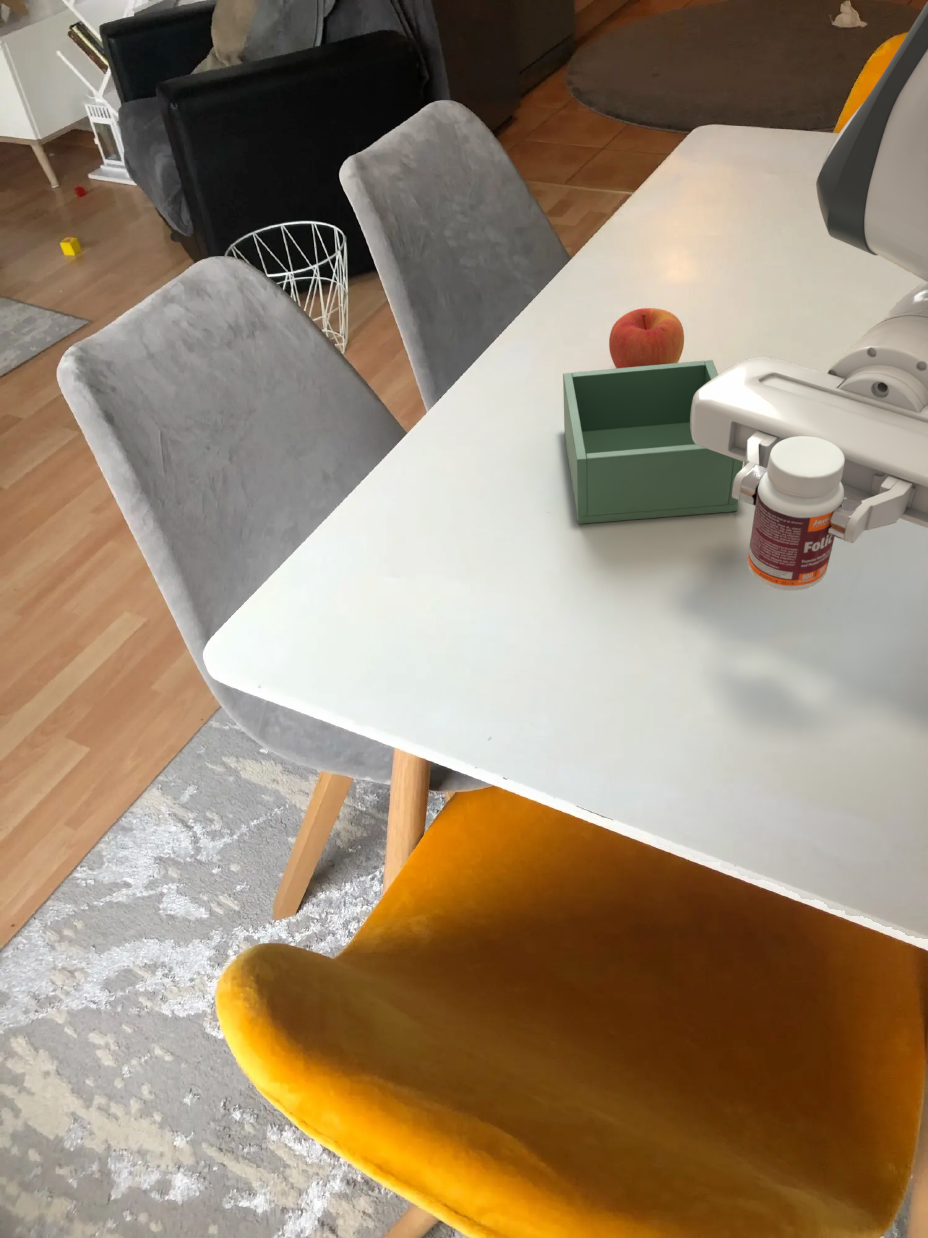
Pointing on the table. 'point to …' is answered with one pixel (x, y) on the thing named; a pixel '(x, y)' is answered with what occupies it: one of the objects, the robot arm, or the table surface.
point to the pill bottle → (796, 513)
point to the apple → (646, 338)
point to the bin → (642, 445)
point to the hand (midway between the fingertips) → (791, 511)
